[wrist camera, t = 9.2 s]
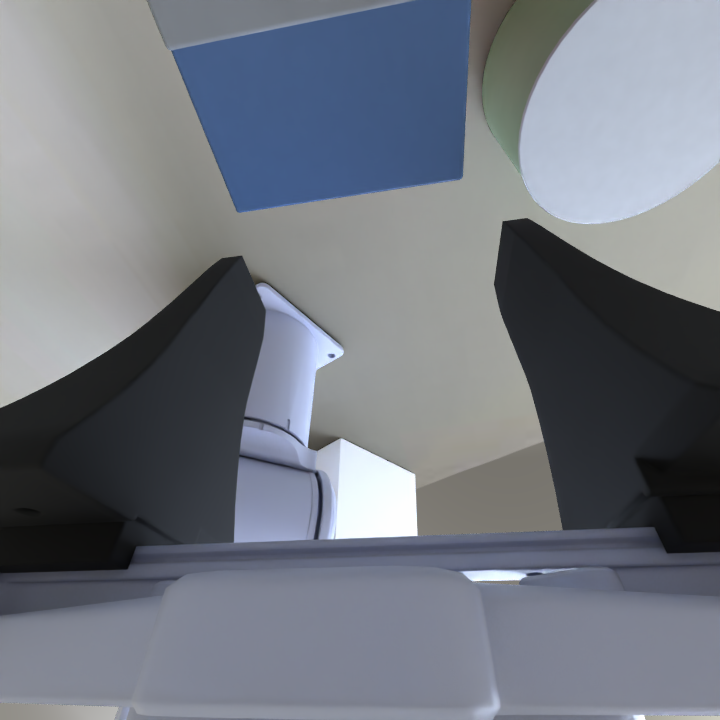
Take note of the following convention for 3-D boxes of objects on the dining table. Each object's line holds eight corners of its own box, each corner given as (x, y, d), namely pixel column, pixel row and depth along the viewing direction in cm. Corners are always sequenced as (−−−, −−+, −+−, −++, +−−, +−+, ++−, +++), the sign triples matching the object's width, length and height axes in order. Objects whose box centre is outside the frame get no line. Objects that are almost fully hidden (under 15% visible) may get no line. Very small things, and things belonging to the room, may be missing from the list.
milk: (344, 503, 50) (335, 803, 33) (271, 476, 44) (212, 825, 27) (414, 474, 44) (450, 829, 26) (340, 437, 38) (322, 865, 20)
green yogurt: (517, 190, 20) (559, 258, 15) (449, 51, 15) (481, 91, 11) (681, 85, 16) (792, 134, 12) (651, -130, 12) (804, -167, 8)
